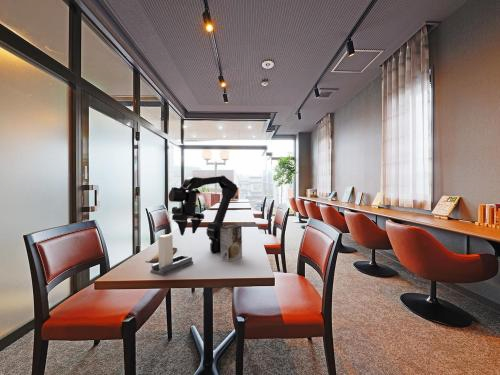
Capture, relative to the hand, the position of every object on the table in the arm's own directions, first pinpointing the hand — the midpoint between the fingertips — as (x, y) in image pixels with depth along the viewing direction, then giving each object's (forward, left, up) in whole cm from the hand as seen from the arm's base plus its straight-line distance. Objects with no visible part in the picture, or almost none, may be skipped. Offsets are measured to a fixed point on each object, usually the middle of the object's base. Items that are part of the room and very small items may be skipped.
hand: (187, 234), depth 115 cm
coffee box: (-20, +7, -13) cm, 25 cm away
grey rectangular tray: (+8, +8, -12) cm, 17 cm away
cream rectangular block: (+11, +10, -11) cm, 19 cm away
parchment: (+10, -14, -13) cm, 21 cm away
